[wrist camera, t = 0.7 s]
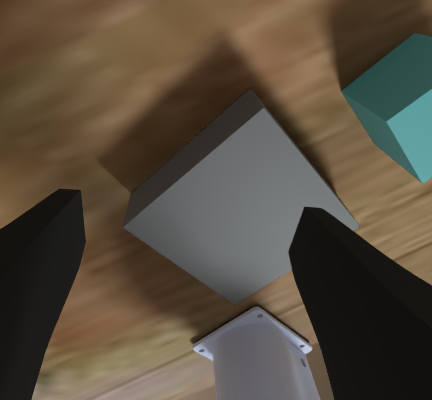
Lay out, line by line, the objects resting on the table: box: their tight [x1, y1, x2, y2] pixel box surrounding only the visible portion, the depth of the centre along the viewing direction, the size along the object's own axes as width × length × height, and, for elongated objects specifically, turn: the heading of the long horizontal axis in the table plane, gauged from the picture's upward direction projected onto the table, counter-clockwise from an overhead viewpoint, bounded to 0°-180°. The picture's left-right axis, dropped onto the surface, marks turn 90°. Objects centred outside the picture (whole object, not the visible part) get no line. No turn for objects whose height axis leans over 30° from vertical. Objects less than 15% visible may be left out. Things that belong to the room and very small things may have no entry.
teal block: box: [341, 33, 432, 183], centre depth 17 cm, size 4×4×5 cm
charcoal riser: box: [123, 88, 360, 305], centre depth 20 cm, size 10×10×4 cm
